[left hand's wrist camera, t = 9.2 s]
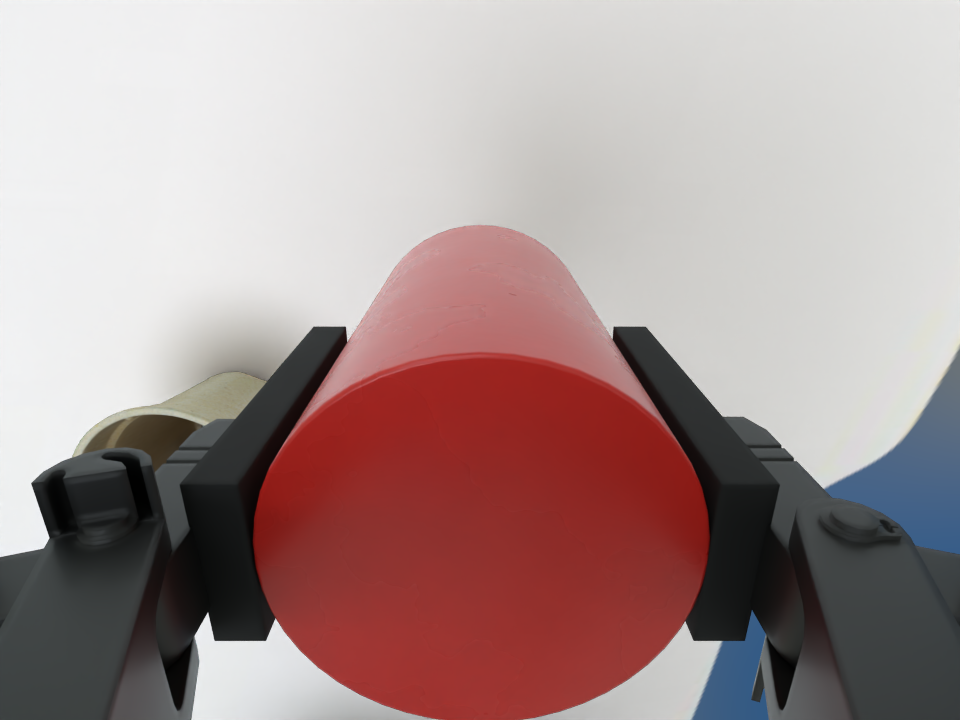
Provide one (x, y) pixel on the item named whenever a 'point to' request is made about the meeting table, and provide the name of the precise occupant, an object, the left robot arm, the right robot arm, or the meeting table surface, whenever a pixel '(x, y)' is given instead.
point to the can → (481, 496)
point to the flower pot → (173, 417)
